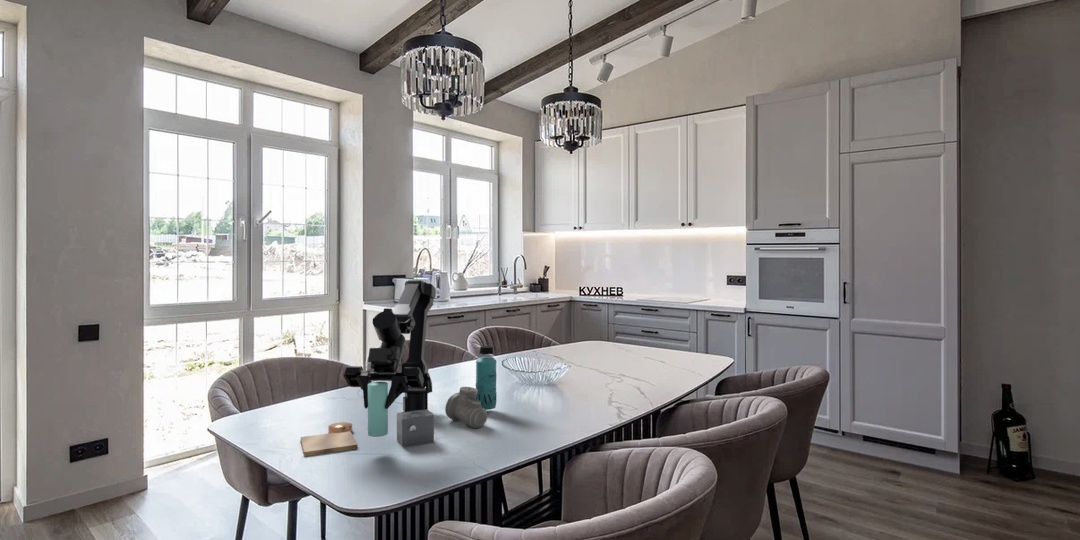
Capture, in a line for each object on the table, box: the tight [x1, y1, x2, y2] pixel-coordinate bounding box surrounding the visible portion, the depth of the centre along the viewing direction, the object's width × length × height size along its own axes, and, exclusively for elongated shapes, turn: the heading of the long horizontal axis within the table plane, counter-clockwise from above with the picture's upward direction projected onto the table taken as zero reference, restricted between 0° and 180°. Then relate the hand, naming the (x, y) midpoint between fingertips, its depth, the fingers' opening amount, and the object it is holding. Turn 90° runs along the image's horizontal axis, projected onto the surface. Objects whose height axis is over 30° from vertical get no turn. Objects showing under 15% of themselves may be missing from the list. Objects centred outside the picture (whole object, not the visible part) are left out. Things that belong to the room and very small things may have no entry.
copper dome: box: [327, 421, 353, 434], centre depth 149 cm, size 6×6×2 cm
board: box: [300, 431, 358, 457], centre depth 139 cm, size 12×12×1 cm
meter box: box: [396, 409, 435, 448], centre depth 141 cm, size 8×7×7 cm
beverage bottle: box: [474, 345, 498, 411], centre depth 168 cm, size 6×7×20 cm
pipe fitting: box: [444, 386, 488, 429], centre depth 156 cm, size 12×8×10 cm
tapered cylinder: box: [367, 381, 389, 438], centre depth 133 cm, size 5×5×12 cm
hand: (375, 407), depth 132 cm, fingers closed on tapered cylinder, 5 cm apart
